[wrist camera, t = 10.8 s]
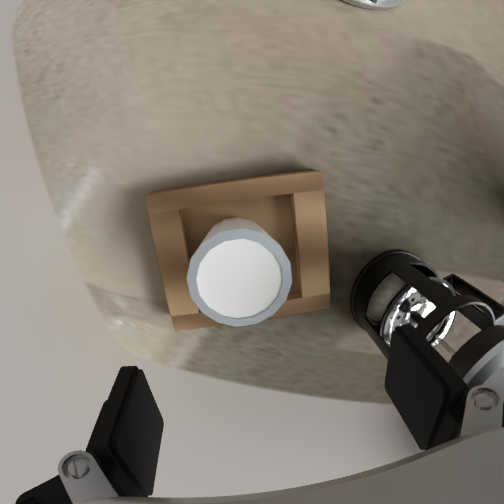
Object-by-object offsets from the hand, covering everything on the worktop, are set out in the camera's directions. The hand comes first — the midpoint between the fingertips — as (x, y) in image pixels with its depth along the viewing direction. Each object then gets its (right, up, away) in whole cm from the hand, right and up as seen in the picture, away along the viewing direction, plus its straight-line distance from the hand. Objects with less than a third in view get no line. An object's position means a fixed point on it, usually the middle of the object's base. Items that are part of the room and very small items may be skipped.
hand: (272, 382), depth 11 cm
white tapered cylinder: (-2, +5, +17) cm, 17 cm away
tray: (-2, +5, +17) cm, 18 cm away
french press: (+14, +1, +20) cm, 25 cm away
